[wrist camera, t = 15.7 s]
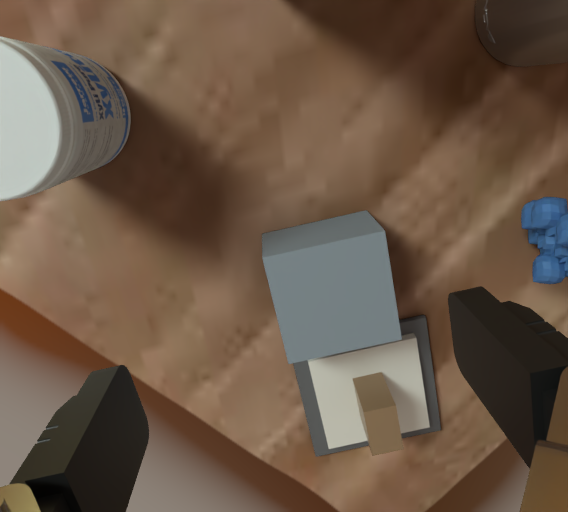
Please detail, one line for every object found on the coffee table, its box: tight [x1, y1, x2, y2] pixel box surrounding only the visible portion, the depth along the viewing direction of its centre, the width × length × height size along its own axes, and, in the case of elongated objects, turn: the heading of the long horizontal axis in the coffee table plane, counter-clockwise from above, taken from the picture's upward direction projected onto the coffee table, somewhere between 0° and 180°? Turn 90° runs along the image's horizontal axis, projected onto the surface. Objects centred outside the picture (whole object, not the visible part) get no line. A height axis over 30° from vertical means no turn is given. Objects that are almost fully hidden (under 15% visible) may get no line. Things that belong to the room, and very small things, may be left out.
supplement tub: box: [0, 36, 131, 201], centre depth 34 cm, size 10×10×15 cm
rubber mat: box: [293, 315, 441, 456], centre depth 51 cm, size 14×14×1 cm
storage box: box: [262, 210, 402, 364], centre depth 43 cm, size 10×10×7 cm
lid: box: [308, 333, 430, 456], centre depth 47 cm, size 11×11×6 cm
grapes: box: [521, 197, 568, 284], centre depth 41 cm, size 12×7×12 cm, turn 44°
